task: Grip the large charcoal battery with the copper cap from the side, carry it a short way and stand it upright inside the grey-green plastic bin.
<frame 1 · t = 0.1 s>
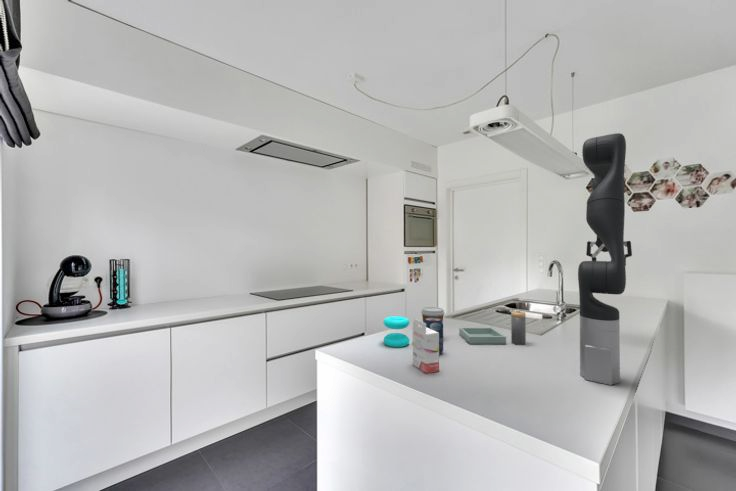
hand: (608, 267, 125), 29 cm above the counter, tool pointing down, fingers open, 8 cm apart
ink cartridge box: (425, 368, 99), on the counter
soda can: (433, 353, 113), on the counter
bin: (481, 339, 129), on the counter
battery: (518, 343, 123), on the counter
donuts: (396, 344, 123), on the counter
disposable coffee cup: (432, 338, 131), on the counter
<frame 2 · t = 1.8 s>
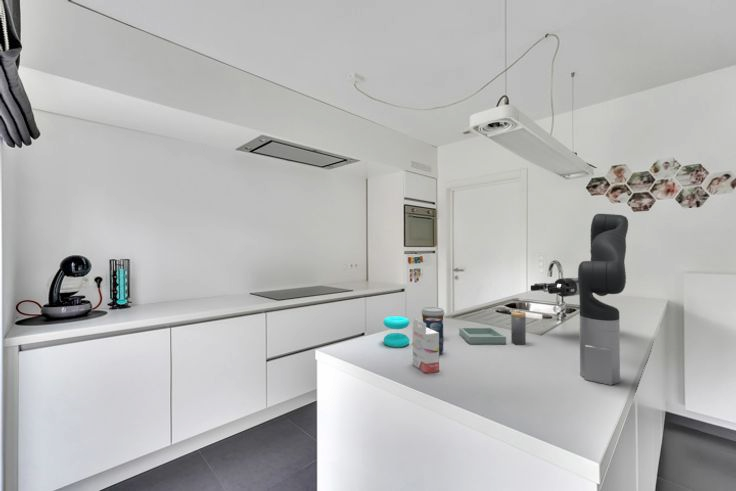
hand: (539, 289, 127), 20 cm above the counter, tool horizontal, fingers open, 8 cm apart
nothing on the counter moved.
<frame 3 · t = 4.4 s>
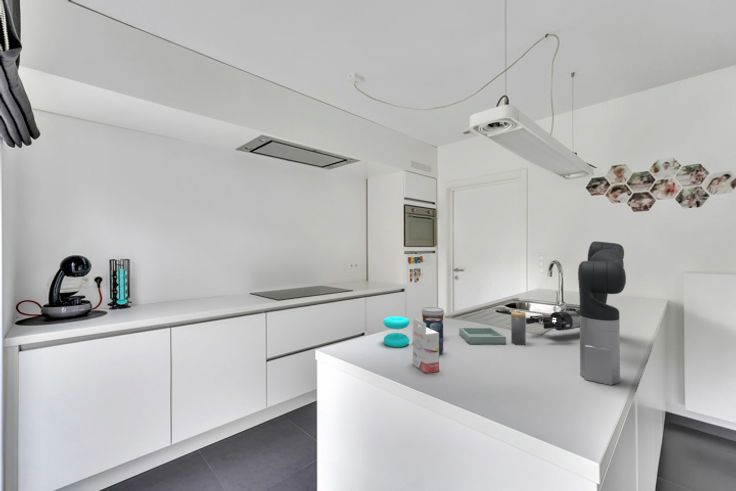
hand: (535, 323, 126), 7 cm above the counter, tool horizontal, fingers open, 8 cm apart
nothing on the counter moved.
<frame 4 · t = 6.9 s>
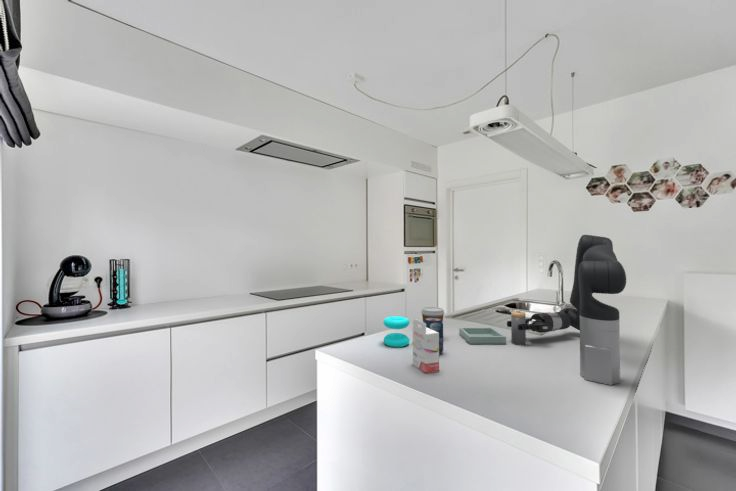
hand: (513, 325, 123), 7 cm above the counter, tool horizontal, fingers closed on battery, 5 cm apart
battery: (518, 343, 123), on the counter, touching gripper
everything else where it was.
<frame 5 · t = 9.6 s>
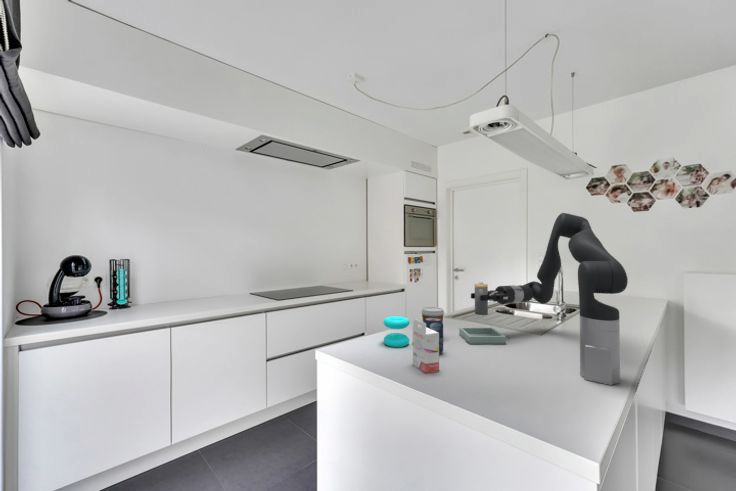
hand: (475, 297, 128), 17 cm above the counter, tool horizontal, fingers closed on battery, 5 cm apart
battery: (481, 313, 129), point 10 cm above the counter, touching gripper
everything else where it was.
when the fingers open (9 cm above the counter, at t = 12.2 s): battery drops 1 cm, resting on bin.
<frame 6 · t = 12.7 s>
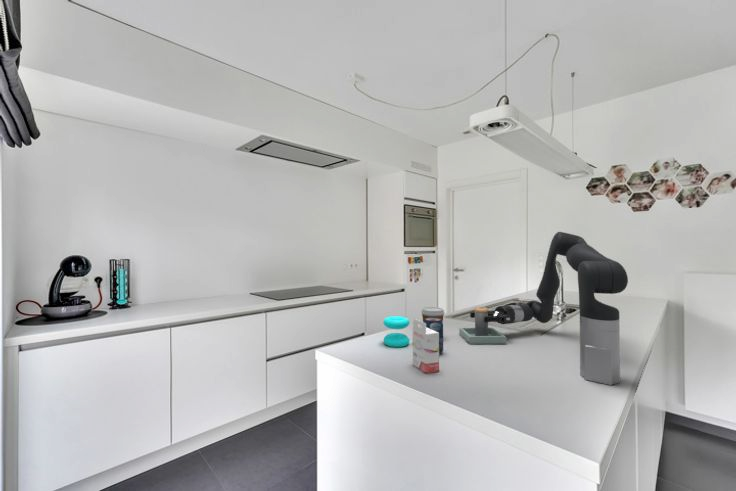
hand: (477, 317, 128), 9 cm above the counter, tool horizontal, fingers open, 8 cm apart
battery: (481, 337, 129), point 1 cm above the counter, touching bin
everything else where it was.
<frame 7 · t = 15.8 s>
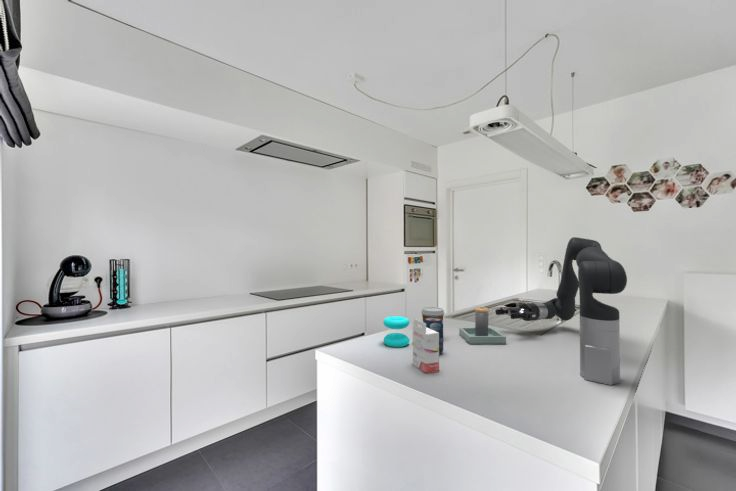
hand: (503, 314, 132), 9 cm above the counter, tool horizontal, fingers open, 8 cm apart
nothing on the counter moved.
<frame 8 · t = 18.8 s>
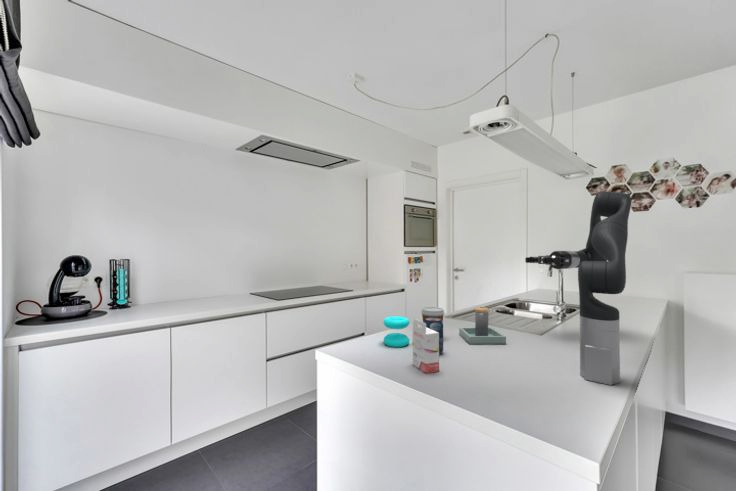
hand: (534, 260, 127), 32 cm above the counter, tool horizontal, fingers open, 8 cm apart
nothing on the counter moved.
at the end: battery inside the target area on the bin (0.1 cm from its centre), point 0.7 cm above the bin's base; battery tilted 1°; the gripper is holding nothing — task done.
